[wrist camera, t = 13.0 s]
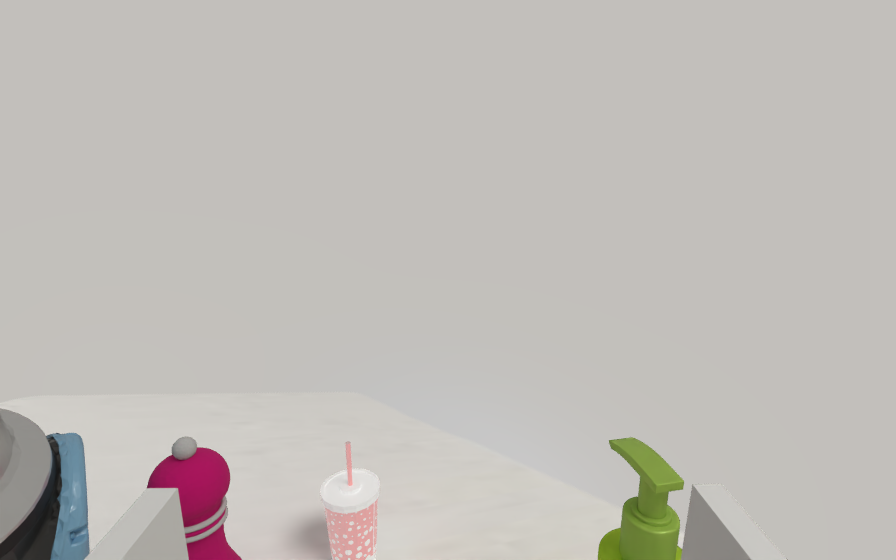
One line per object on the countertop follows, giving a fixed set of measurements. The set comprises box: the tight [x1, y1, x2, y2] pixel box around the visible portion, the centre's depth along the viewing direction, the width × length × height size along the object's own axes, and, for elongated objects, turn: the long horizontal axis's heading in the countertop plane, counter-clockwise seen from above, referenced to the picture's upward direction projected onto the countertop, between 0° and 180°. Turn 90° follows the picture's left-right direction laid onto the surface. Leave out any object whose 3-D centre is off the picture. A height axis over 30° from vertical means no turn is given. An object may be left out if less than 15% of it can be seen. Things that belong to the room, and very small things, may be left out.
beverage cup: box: [320, 442, 380, 560], centre depth 50 cm, size 6×6×14 cm
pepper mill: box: [147, 437, 242, 560], centre depth 40 cm, size 7×7×20 cm
